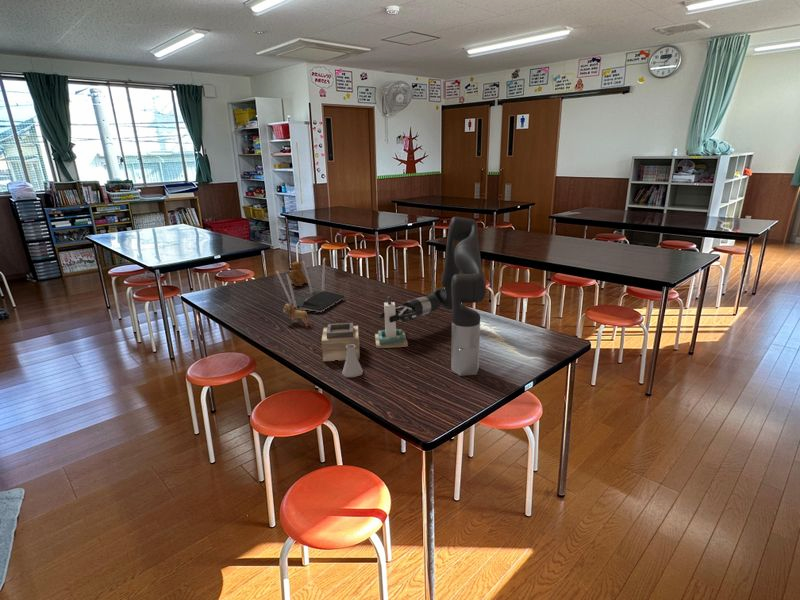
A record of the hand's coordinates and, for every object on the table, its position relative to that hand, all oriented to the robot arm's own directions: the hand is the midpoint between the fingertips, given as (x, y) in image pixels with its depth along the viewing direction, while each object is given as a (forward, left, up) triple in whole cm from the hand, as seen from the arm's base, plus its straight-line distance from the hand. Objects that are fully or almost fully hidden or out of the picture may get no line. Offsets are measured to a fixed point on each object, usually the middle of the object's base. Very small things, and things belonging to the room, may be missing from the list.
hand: (385, 317), depth 172 cm
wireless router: (+54, +33, -11) cm, 64 cm away
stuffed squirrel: (+92, +45, -11) cm, 102 cm away
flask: (-24, +13, -11) cm, 29 cm away
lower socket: (+1, -2, -10) cm, 11 cm away
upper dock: (-7, +17, -10) cm, 21 cm away
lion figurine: (+27, +37, -11) cm, 47 cm away
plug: (+1, -2, -8) cm, 8 cm away
